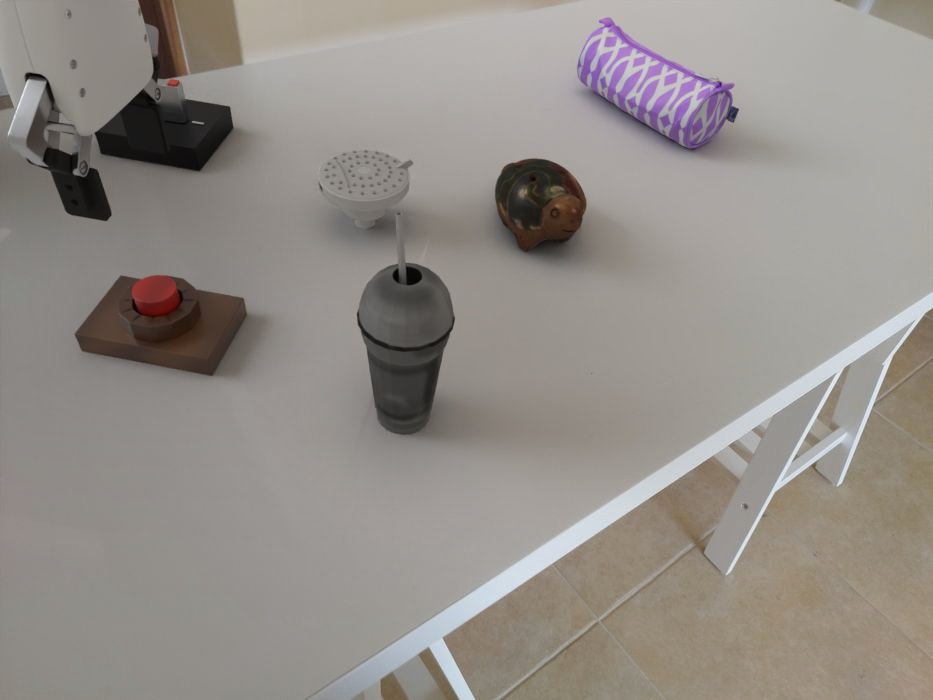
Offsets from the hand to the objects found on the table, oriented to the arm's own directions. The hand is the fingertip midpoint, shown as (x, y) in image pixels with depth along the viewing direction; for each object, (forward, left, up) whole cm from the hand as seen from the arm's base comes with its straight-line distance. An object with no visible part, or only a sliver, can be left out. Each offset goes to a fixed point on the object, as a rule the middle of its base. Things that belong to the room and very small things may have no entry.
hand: (121, 180), depth 55 cm
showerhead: (+13, +21, -16) cm, 30 cm away
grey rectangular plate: (-14, +30, -13) cm, 36 cm away
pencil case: (+43, +55, -16) cm, 72 cm away
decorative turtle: (+31, +25, -16) cm, 43 cm away
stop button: (0, 0, -13) cm, 13 cm away
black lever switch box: (-14, +30, -16) cm, 37 cm away
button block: (0, 0, -16) cm, 16 cm away
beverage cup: (+23, -4, -16) cm, 29 cm away
